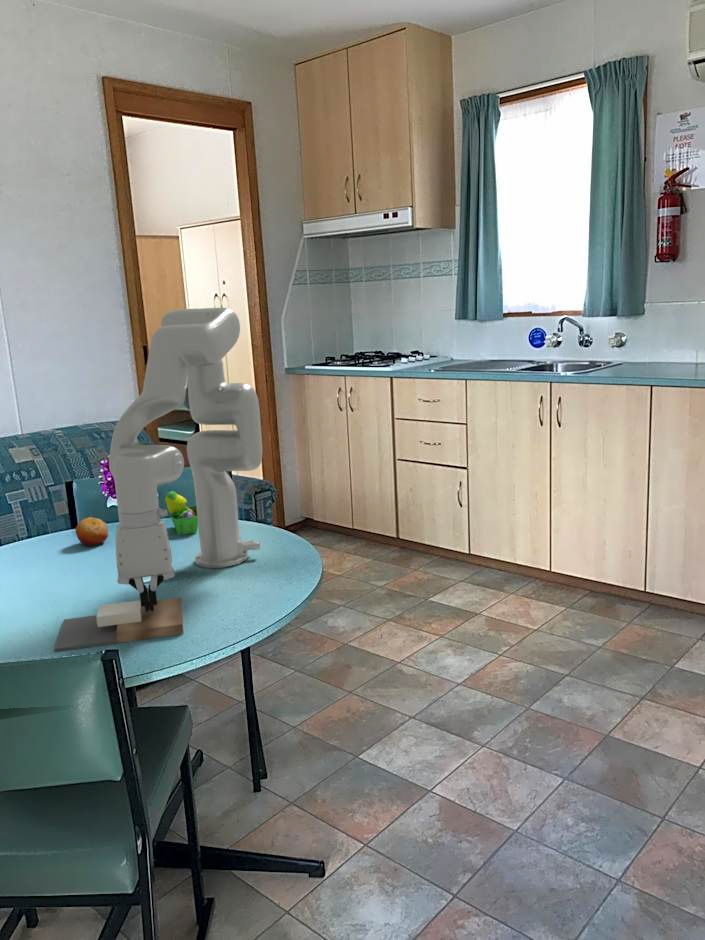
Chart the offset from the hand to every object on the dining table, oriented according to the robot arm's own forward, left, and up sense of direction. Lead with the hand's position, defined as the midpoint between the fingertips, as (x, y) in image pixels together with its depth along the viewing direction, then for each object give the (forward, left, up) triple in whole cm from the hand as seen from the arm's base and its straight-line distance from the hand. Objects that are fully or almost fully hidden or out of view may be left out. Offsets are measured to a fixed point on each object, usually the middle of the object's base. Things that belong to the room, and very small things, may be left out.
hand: (149, 608), depth 151 cm
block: (+6, 0, -1) cm, 6 cm away
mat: (+11, 0, -3) cm, 12 cm away
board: (0, 0, -3) cm, 3 cm away
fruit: (+16, -60, -4) cm, 62 cm away
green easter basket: (-8, -64, -4) cm, 65 cm away
